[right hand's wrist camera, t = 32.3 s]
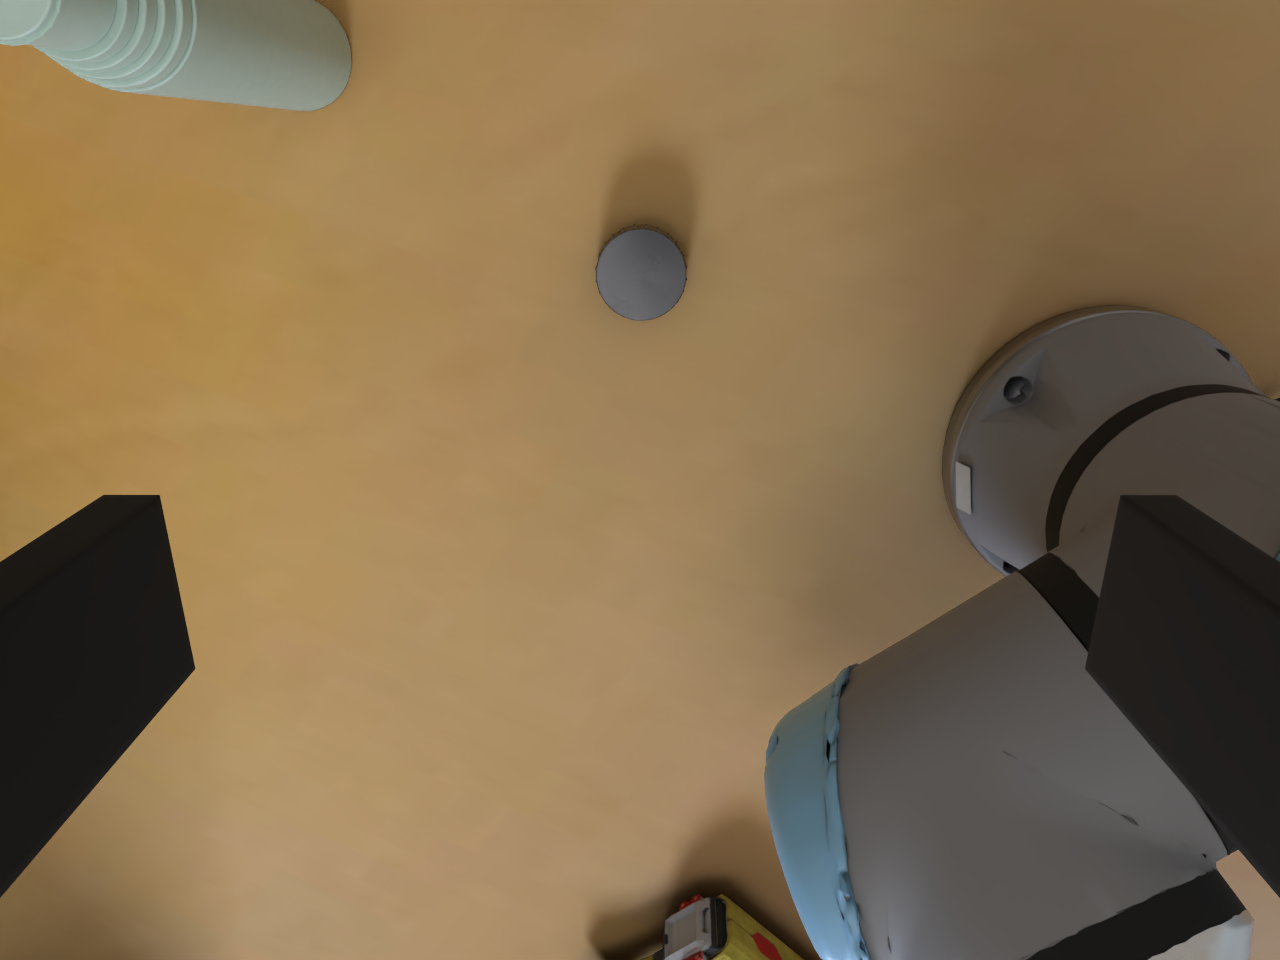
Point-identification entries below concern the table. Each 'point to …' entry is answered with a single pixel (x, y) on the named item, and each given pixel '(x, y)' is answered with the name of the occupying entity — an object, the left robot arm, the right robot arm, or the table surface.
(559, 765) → the table surface
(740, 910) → the toy gun
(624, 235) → the cap
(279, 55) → the bottle
